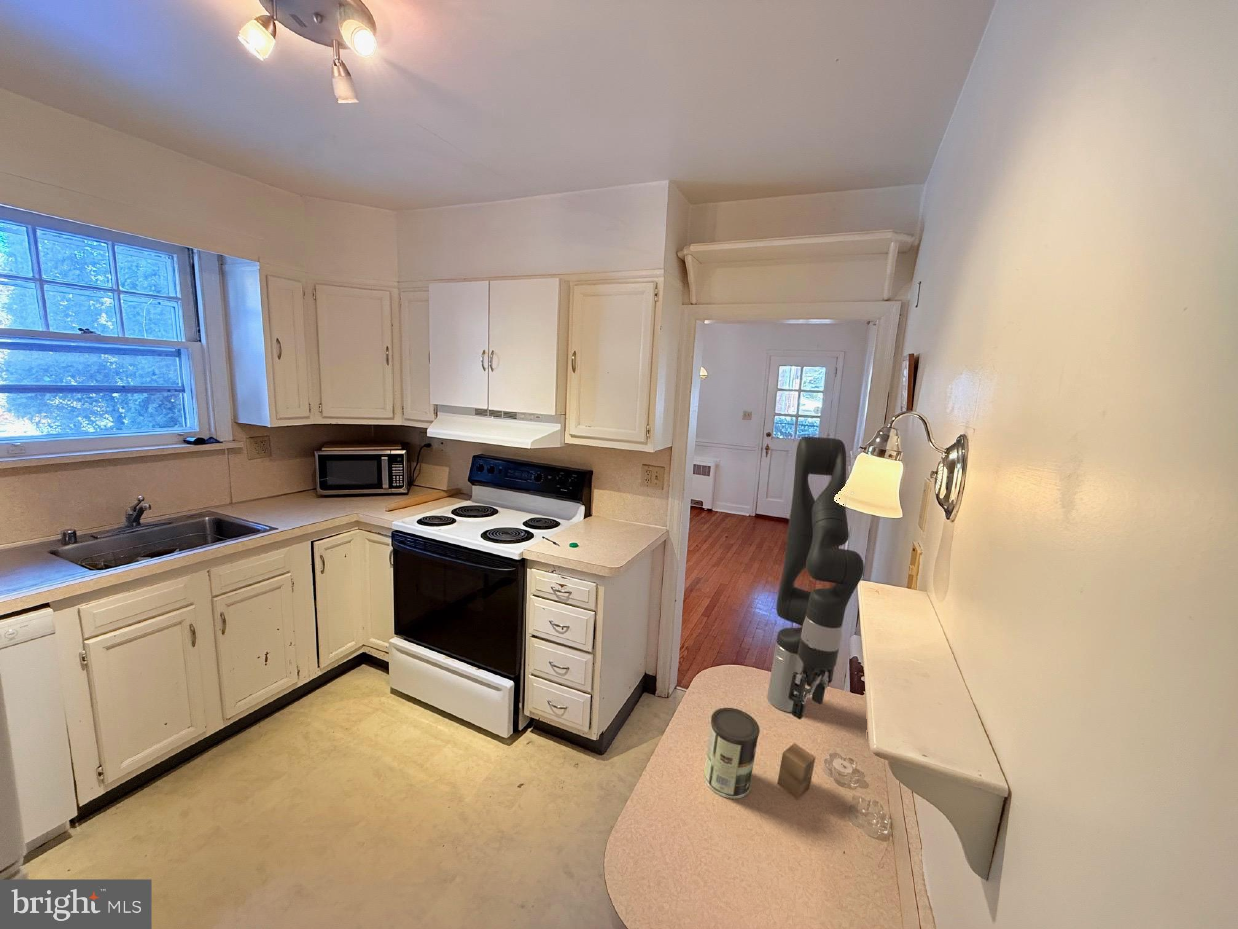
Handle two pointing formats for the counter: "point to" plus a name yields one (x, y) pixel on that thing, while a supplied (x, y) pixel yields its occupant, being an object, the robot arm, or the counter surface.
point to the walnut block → (796, 770)
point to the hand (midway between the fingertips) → (806, 709)
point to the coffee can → (731, 752)
